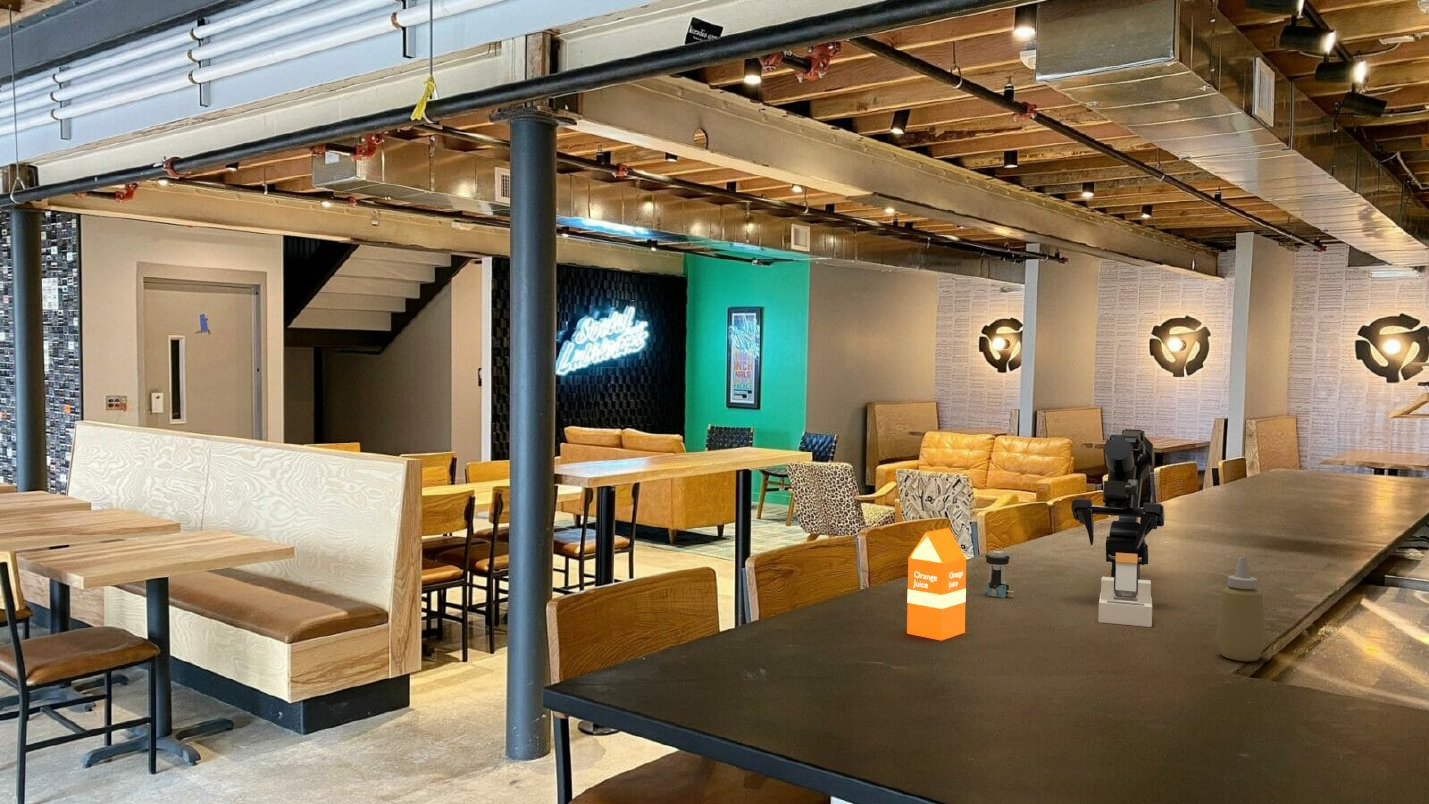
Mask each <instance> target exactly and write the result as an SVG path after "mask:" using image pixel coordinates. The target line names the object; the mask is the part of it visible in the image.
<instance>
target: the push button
mask: <svg viewBox="0 0 1429 804" xmlns="http://www.w3.org/2000/svg"><path fill="white" fill-rule="evenodd" d="M984 558H985V562H986V564H988V566H989V567H988V569H989V571H988V579H987V581H988V583H985V593H984V594H985V595H986V596H989V597H996V598H1003V599H1004V598H1007V597H1015V595H1013V594H1009V593H1014V592H1015V591H1013V590H1010V586H1009V584H1007V581H1006V567H1007V566H1006V565H1008V564H1010V563H1009V561H1010V558H1011V557H1010V556H1009V555H1007V552H1006V551H1003V550H989V553H988V554H985V556H984Z"/></svg>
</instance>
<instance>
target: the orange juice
mask: <svg viewBox="0 0 1429 804" xmlns="http://www.w3.org/2000/svg"><path fill="white" fill-rule="evenodd" d="M907 560H908V562H907V563H908V564H907V566H908V567H907V568H908V569H907V595H906V596H907V597H906V598H907V601H906V602H907V611H906V612H907V617H906V619H907V620H906V622H907V623H906V634H908V635H913V636H918V637H922V638H928V639H932V640H937V641H944V640H947V639H950V638H954V637H955V636H958V635H961V634H965V633H966V601H967V599H966V597H967V595H966V594H967V588H966V583H967V582H966V580H967V579H966V578H967V576H966V575H967V557H966V556H965V554H964V553H963V551H962V549H961V547H960V545H959V544H958V541H957V539H956V538H955V536H954V534H953V533H952V531H951V529H950V527H946V528H940V529H935V530H930V531H925V533H924V534H923V536H922V537H921V539H920V541H919V542H918V543H917V545H916V546H915V547H914V549H913V551H912V552H911V554H910V555H909V556H908V559H907Z"/></svg>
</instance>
